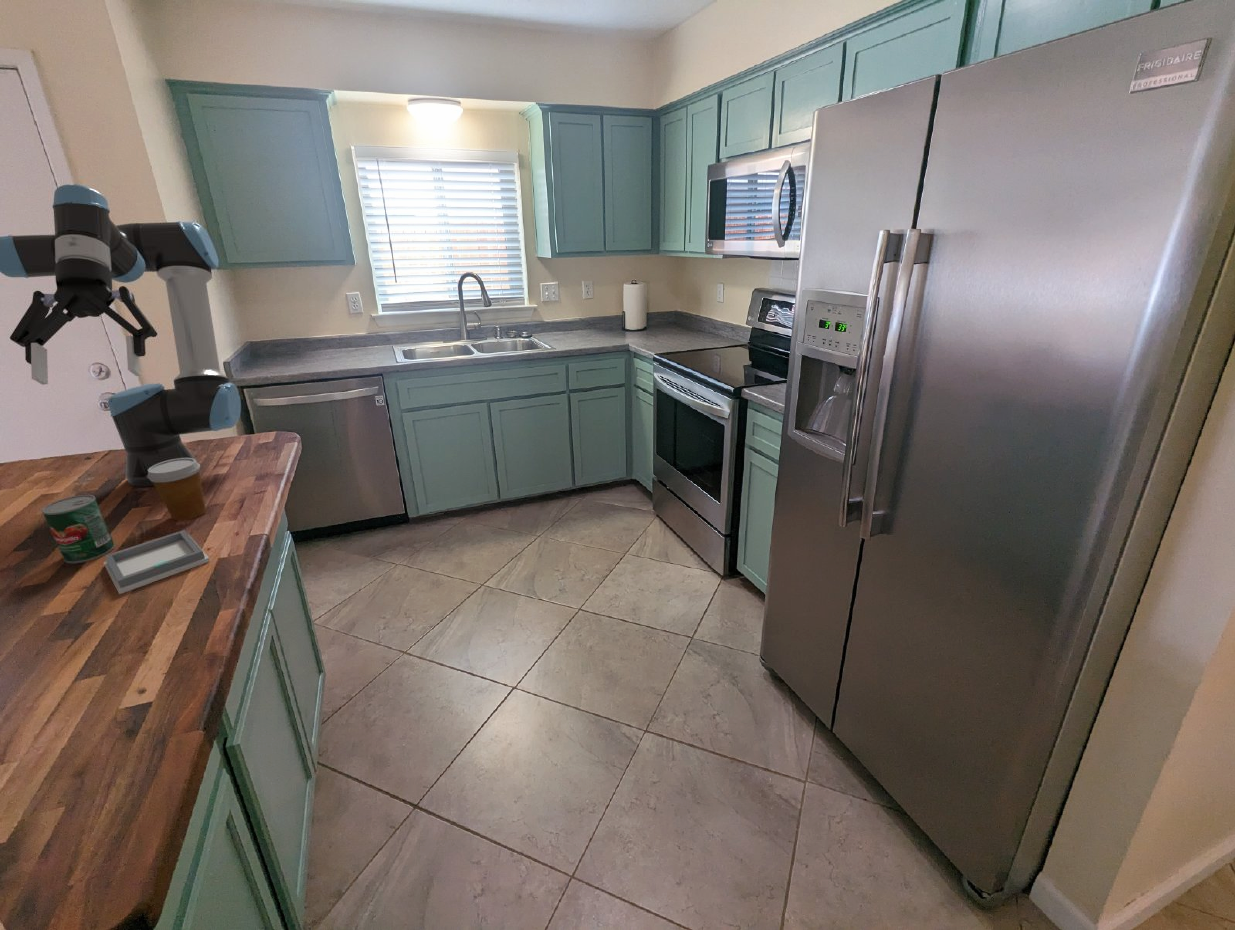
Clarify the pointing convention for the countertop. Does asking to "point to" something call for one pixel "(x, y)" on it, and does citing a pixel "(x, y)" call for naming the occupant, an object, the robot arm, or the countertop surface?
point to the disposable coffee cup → (179, 487)
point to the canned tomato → (78, 528)
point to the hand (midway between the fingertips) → (88, 377)
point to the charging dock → (153, 561)
